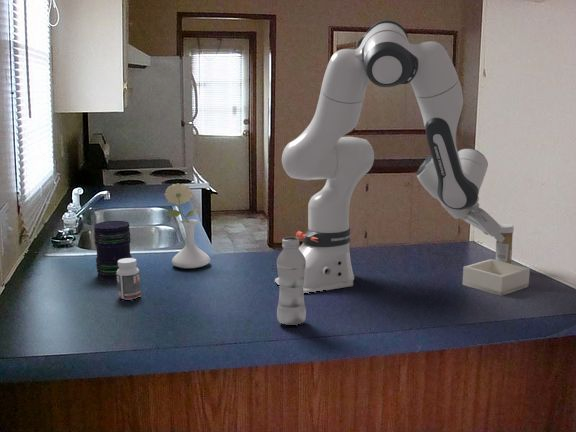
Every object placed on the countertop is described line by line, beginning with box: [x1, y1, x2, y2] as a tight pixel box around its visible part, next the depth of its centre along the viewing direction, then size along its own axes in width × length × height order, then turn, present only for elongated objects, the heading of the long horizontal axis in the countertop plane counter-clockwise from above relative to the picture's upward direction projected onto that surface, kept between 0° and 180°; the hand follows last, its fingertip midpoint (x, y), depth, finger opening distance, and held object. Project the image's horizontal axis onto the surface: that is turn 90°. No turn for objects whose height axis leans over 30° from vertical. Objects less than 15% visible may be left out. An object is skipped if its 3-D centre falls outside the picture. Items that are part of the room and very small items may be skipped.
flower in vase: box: [163, 182, 211, 269], centre depth 198 cm, size 13×11×25 cm
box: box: [462, 258, 531, 297], centre depth 178 cm, size 12×12×5 cm
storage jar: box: [93, 220, 133, 281], centre depth 190 cm, size 10×10×15 cm
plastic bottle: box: [276, 236, 307, 326], centre depth 151 cm, size 6×7×20 cm
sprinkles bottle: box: [494, 223, 514, 264], centre depth 190 cm, size 5×5×14 cm
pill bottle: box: [116, 257, 142, 299], centre depth 171 cm, size 6×6×10 cm
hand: (495, 236), depth 188 cm, fingers open, 8 cm apart
